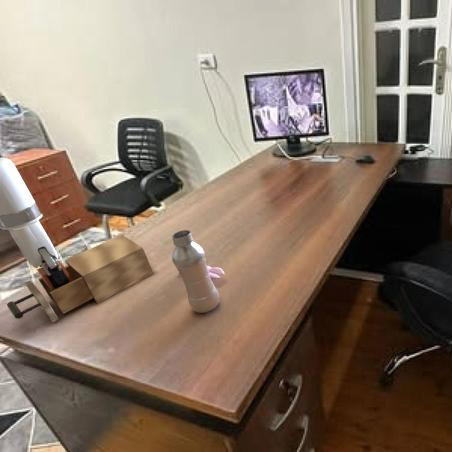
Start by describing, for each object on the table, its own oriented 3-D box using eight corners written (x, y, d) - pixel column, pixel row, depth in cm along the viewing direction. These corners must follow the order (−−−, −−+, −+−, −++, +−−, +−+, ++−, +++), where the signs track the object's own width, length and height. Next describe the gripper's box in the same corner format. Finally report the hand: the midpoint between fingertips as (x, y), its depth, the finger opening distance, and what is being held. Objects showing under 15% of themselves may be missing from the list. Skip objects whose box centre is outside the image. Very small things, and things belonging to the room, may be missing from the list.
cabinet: (97, 303, 87) (82, 276, 83) (79, 286, 94) (64, 260, 90) (153, 273, 97) (142, 247, 93) (133, 259, 104) (122, 234, 100)
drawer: (27, 335, 78) (11, 313, 74) (14, 315, 84) (-1, 294, 81) (113, 290, 90) (102, 268, 87) (95, 275, 96) (85, 255, 93)
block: (51, 290, 82) (42, 275, 80) (45, 284, 85) (36, 269, 83) (72, 280, 85) (63, 265, 83) (66, 274, 88) (57, 260, 85)
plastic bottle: (223, 309, 81) (200, 236, 71) (193, 320, 79) (165, 246, 69) (218, 294, 86) (196, 223, 76) (190, 304, 84) (163, 232, 74)
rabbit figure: (177, 283, 94) (215, 289, 86) (167, 264, 91) (206, 269, 84) (194, 270, 99) (232, 274, 91) (186, 252, 96) (224, 255, 89)
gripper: (-12, 213, 78) (30, 278, 87) (6, 233, 69) (52, 303, 78) (28, 201, 83) (64, 263, 92) (50, 217, 73) (88, 285, 82)
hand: (58, 281), depth 85 cm, fingers closed on block, 4 cm apart
